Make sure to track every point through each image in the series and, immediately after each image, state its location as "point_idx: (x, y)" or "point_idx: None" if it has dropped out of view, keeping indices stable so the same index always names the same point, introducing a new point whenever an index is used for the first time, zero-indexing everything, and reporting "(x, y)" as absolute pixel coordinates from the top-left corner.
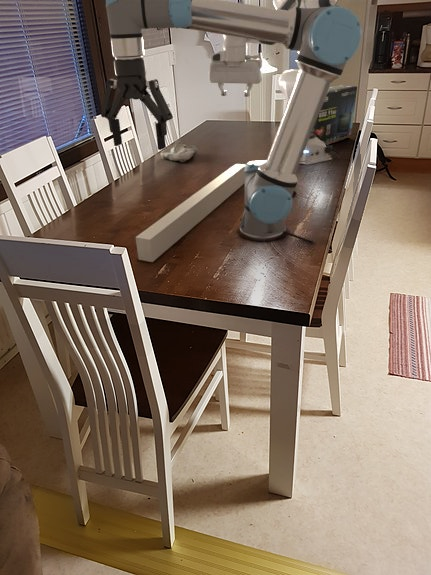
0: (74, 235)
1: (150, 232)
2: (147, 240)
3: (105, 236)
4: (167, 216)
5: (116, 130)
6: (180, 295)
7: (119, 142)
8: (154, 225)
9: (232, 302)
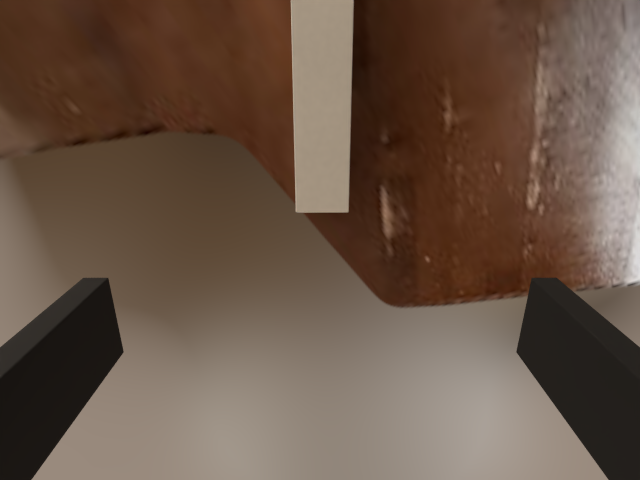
0: (3, 118)
1: (322, 164)
2: (339, 211)
3: (100, 88)
4: (305, 2)
5: (42, 424)
6: (476, 298)
7: (104, 322)
8: (303, 105)
9: (594, 286)
